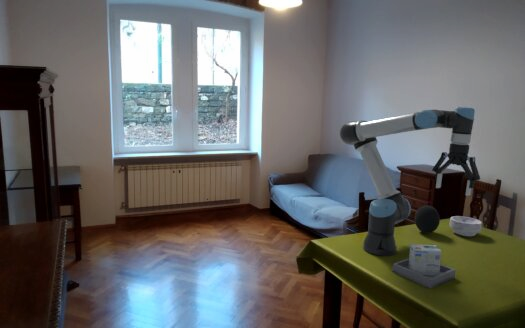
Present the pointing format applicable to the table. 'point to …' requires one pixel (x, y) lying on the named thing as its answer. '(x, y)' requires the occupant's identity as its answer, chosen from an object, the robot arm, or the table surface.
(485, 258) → the table surface
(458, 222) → the paper bowls
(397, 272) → the tray
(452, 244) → the table surface
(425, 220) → the decorative egg
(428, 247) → the light bulb box
